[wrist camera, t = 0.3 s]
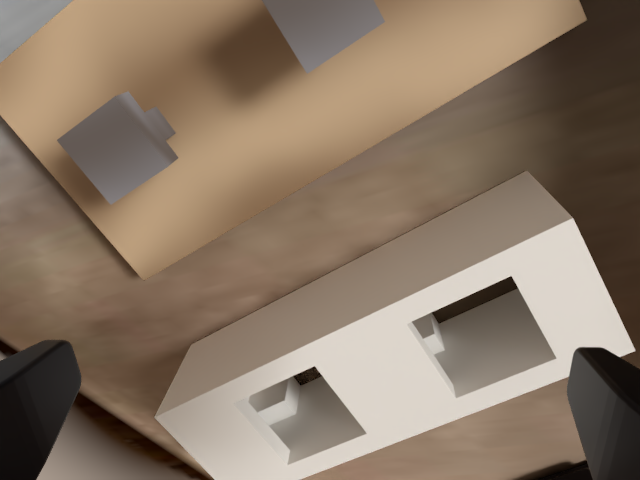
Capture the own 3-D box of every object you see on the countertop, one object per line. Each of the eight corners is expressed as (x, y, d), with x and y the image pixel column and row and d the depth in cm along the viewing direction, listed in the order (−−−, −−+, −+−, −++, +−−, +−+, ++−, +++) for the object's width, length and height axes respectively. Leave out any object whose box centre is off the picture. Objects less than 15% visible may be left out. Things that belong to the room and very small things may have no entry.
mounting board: (570, 18, 18) (641, 23, 13) (156, 265, 24) (106, 327, 19) (442, -295, 15) (478, -430, 10) (0, 80, 21) (-105, 102, 16)
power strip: (527, 170, 20) (573, 218, 16) (581, 280, 22) (635, 351, 18) (191, 344, 26) (154, 417, 21) (258, 421, 28) (237, 503, 23)
